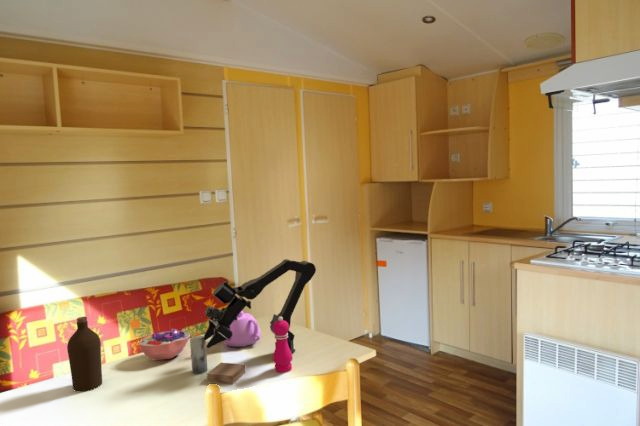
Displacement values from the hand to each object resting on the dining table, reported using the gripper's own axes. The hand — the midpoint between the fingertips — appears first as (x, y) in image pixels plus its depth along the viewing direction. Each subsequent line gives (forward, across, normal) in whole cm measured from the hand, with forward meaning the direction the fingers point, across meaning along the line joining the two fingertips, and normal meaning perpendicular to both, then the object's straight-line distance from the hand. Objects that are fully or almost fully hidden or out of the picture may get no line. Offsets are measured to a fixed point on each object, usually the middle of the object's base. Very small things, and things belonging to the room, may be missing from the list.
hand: (205, 343), depth 173 cm
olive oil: (+36, -7, -21) cm, 43 cm away
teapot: (-5, -22, +19) cm, 29 cm away
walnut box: (+3, +11, +11) cm, 16 cm away
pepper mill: (-11, +15, +25) cm, 31 cm away
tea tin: (+9, 0, +5) cm, 10 cm away
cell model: (+16, -22, -2) cm, 27 cm away
